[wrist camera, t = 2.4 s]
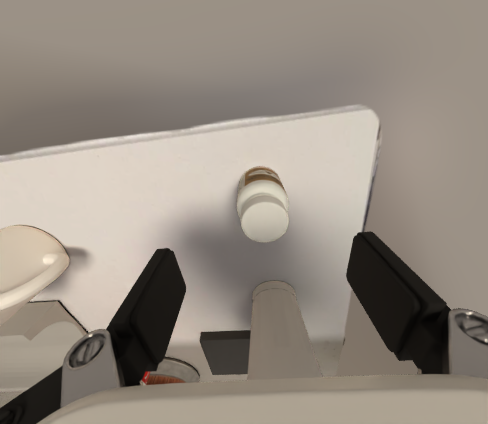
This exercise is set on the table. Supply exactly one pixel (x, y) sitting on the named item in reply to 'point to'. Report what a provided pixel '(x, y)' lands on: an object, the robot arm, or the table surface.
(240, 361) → the scale
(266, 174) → the pill bottle
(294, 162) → the table surface
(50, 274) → the mug
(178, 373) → the mug
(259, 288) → the cup
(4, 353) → the grey desk tray
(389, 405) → the robot arm
